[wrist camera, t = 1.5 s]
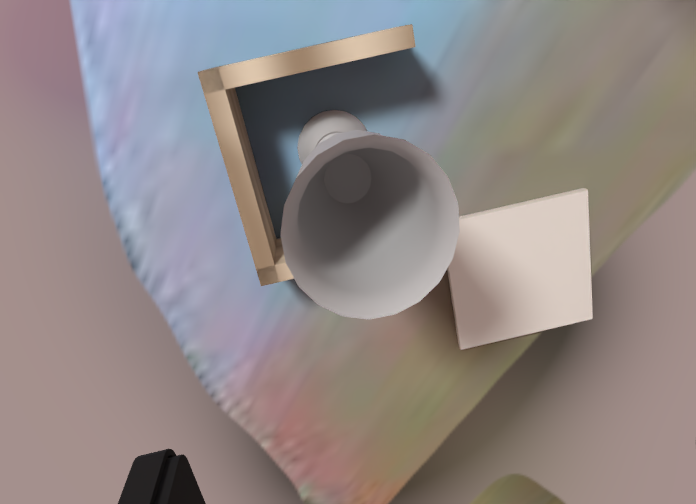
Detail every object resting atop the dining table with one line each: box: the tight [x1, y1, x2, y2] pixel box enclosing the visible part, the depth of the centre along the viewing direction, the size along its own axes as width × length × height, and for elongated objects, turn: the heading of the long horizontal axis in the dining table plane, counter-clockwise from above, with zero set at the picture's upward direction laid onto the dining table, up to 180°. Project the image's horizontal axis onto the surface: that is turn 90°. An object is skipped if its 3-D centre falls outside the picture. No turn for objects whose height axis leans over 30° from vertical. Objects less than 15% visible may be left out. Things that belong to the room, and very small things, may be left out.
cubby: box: [198, 24, 415, 286], centre depth 34 cm, size 12×13×5 cm
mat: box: [447, 188, 593, 350], centre depth 41 cm, size 11×11×1 cm
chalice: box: [280, 110, 460, 319], centre depth 28 cm, size 7×7×18 cm
